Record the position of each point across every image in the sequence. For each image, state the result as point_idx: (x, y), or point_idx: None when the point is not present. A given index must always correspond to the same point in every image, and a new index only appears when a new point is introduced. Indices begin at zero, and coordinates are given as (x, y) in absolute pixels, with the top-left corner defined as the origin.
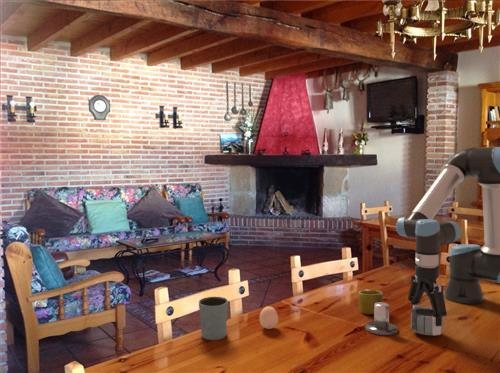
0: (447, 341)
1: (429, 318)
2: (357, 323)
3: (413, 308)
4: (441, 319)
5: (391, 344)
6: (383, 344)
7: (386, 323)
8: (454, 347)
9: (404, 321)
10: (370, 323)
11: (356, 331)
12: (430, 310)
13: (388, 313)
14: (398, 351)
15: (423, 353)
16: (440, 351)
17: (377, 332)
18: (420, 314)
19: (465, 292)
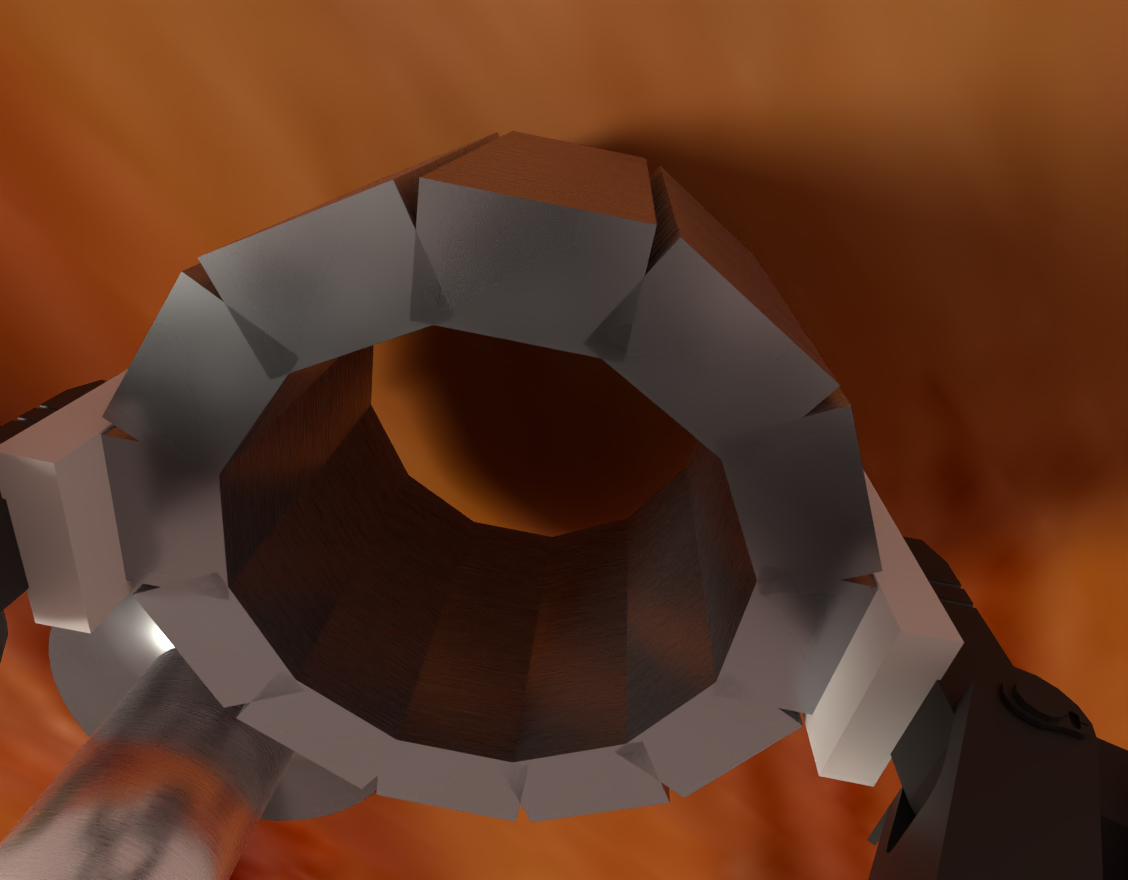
0: (890, 310)
1: (750, 737)
2: (41, 748)
3: (166, 628)
4: (1000, 655)
5: (582, 826)
6: (549, 864)
7: (268, 775)
8: (1070, 393)
9: (39, 278)
10: (101, 720)
11: None
12: (363, 342)
13: (183, 877)
14: (722, 869)
15: (893, 763)
16: (993, 616)
17: (341, 806)
18: (292, 449)
19: None
